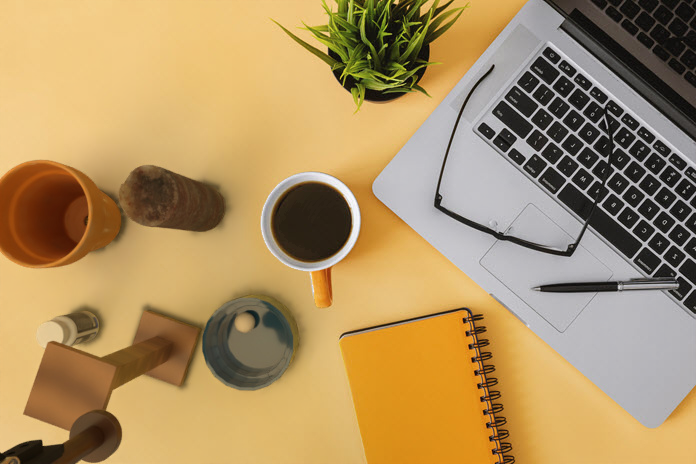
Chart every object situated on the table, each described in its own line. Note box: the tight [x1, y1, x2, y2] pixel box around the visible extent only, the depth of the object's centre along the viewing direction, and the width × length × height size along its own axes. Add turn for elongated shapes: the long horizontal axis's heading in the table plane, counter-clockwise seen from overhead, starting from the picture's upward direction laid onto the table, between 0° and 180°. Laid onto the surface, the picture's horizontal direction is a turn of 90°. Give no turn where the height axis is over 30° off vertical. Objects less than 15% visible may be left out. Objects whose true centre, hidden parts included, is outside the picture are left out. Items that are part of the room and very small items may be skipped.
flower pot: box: [0, 159, 122, 270], centre depth 69 cm, size 14×14×13 cm
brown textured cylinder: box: [118, 164, 226, 233], centre depth 65 cm, size 8×7×20 cm
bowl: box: [201, 294, 300, 392], centre depth 71 cm, size 13×13×6 cm
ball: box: [235, 312, 255, 333], centre depth 72 cm, size 3×3×3 cm
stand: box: [22, 309, 202, 432], centre depth 62 cm, size 9×9×24 cm
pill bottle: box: [35, 310, 100, 350], centre depth 71 cm, size 5×5×8 cm
